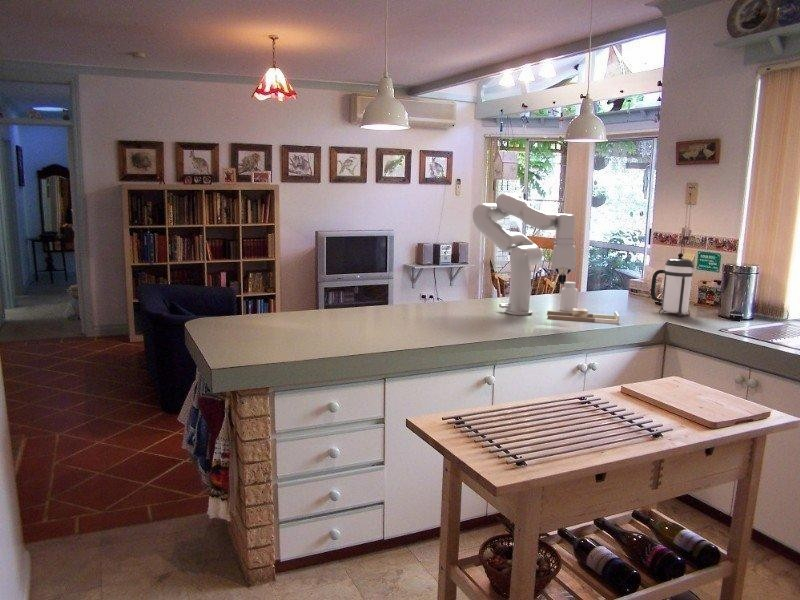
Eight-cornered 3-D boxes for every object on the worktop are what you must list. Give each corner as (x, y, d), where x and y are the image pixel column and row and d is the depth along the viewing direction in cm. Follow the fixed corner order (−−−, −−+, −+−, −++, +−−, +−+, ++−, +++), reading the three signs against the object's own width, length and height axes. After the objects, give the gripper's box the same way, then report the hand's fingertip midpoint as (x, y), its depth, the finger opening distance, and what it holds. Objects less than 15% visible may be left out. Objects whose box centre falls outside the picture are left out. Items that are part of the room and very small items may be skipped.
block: (572, 319, 280) (573, 310, 280) (572, 316, 286) (572, 308, 285) (587, 320, 279) (587, 311, 278) (586, 317, 285) (586, 309, 284)
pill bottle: (557, 313, 301) (559, 282, 299) (561, 311, 308) (564, 280, 306) (574, 315, 298) (577, 283, 295) (578, 313, 305) (580, 282, 302)
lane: (547, 322, 280) (548, 310, 279) (546, 317, 291) (547, 306, 291) (618, 327, 274) (619, 315, 273) (615, 322, 285) (616, 311, 285)
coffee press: (684, 311, 318) (690, 252, 313) (695, 317, 303) (702, 255, 298) (648, 310, 320) (654, 250, 315) (657, 316, 304) (664, 253, 299)
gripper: (547, 242, 277) (544, 284, 280) (583, 243, 274) (580, 285, 277) (547, 241, 284) (544, 281, 287) (581, 242, 281) (579, 283, 284)
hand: (562, 283), depth 282 cm, fingers closed
